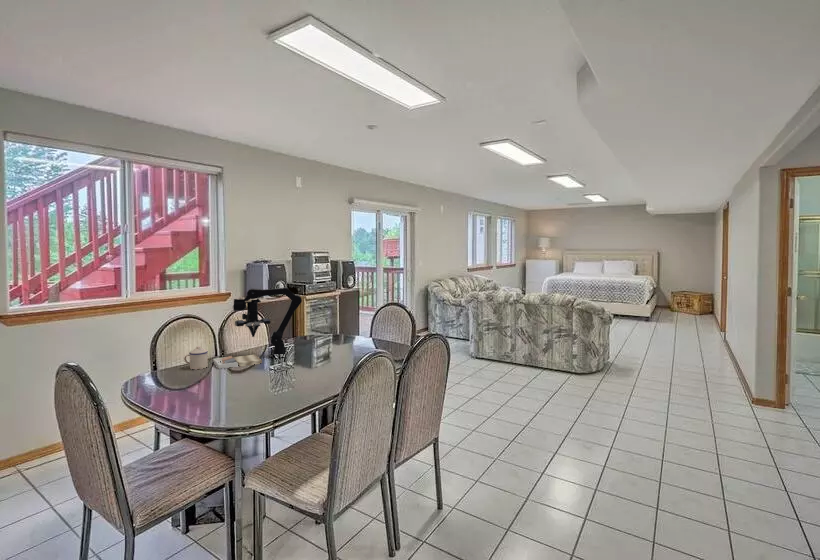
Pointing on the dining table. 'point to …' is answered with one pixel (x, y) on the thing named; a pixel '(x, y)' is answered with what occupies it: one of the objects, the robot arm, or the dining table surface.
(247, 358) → the birch board
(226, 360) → the slate tile
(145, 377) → the dining table surface
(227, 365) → the tray
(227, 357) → the terracotta tile
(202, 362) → the teacup with lid
